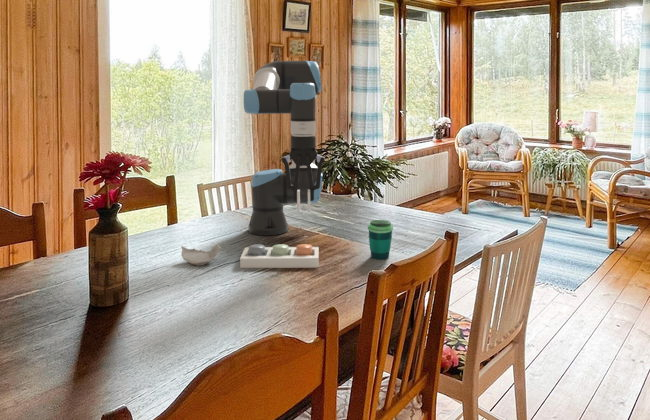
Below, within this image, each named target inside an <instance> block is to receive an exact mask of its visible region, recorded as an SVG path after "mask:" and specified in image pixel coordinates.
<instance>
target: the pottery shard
mask: <svg viewBox="0 0 650 420" xmlns="http://www.w3.org/2000/svg"><path fill="white" fill-rule="evenodd" d="M180 248H181V249H182V251H181V257H182V259H183V260H184V261H186V262H187V263H189V264H191V265H192V266H198V267H199V266H200V267H201V266H204V265H207V263H210V261H213V260H214V259H215V258H216V256H217V255H218V252H219V251H220V250H221V245H219V244H216V245H215V246H214V247H213V249H211V250H210V251H204V250H201V249H200V250H198V249H196V248H192V249H189V248H187V247H185V246H183V245H182V246H181V247H180Z"/></svg>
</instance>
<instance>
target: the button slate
mask: <svg viewBox="0 0 650 420" xmlns="http://www.w3.org/2000/svg"><path fill="white" fill-rule="evenodd" d="M248 247H249V256H265V247H266V246H265V245H264V244H261V243H258V244H251V245H249V246H248Z"/></svg>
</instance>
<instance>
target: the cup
mask: <svg viewBox="0 0 650 420" xmlns="http://www.w3.org/2000/svg"><path fill="white" fill-rule="evenodd" d="M367 230H368V242H369V251H370V256H371V258H372V259H374V260H378V261H382V260H388V259H389V257H390V251H391V245H392V238H393V236H392V234H393V230H394V226H393V225H392V222H391V221H389V220H385V219H375V220H374V219H373V220H371V221H370V223H369V224H368V225H367Z"/></svg>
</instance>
